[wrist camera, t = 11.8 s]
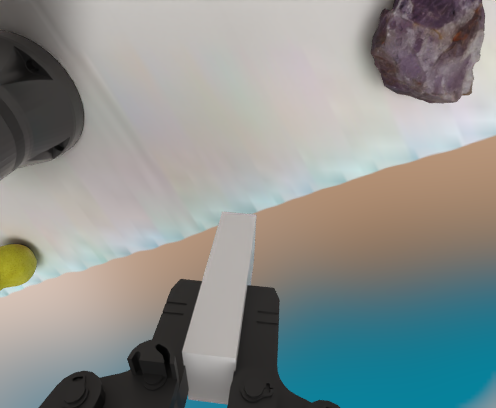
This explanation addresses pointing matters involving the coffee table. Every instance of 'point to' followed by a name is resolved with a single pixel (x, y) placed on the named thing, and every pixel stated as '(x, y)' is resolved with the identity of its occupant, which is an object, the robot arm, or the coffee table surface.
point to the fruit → (16, 265)
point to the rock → (429, 48)
